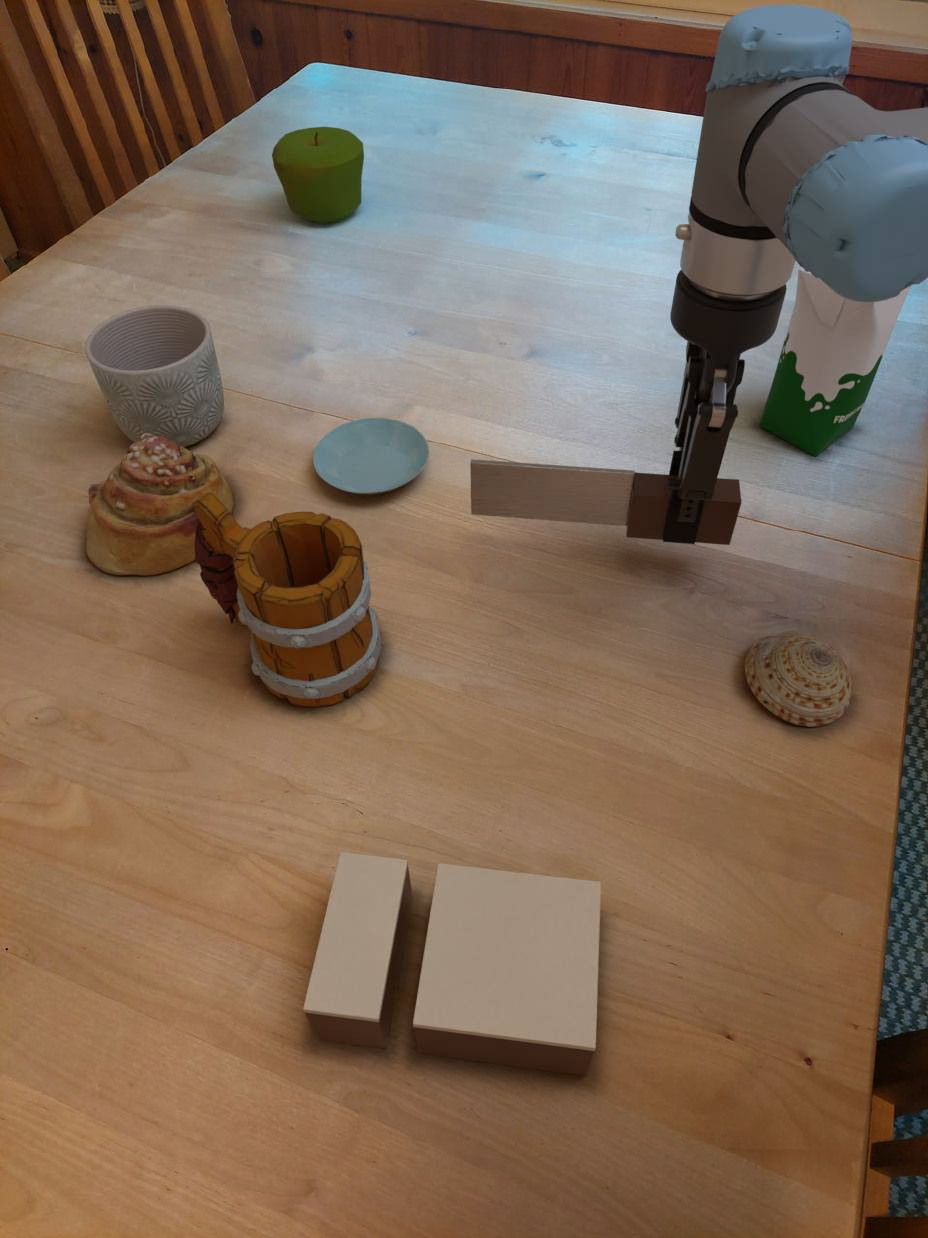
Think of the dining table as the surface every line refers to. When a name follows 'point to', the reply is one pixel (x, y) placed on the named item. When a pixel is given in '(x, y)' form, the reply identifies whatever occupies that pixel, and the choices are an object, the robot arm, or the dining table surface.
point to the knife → (595, 498)
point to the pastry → (151, 508)
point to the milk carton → (827, 364)
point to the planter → (158, 373)
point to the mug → (293, 599)
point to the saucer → (371, 455)
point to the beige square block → (510, 970)
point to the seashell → (798, 678)
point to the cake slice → (360, 951)
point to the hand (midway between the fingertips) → (678, 525)
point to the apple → (320, 172)
